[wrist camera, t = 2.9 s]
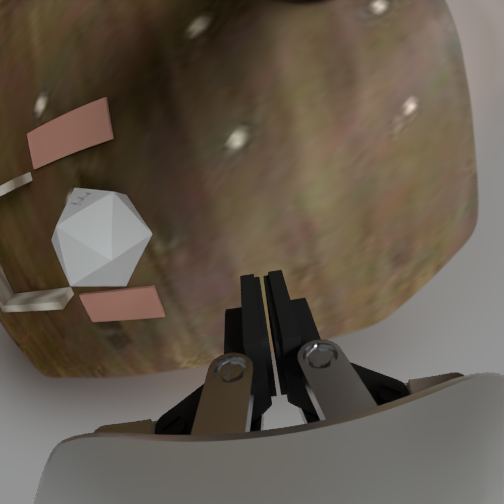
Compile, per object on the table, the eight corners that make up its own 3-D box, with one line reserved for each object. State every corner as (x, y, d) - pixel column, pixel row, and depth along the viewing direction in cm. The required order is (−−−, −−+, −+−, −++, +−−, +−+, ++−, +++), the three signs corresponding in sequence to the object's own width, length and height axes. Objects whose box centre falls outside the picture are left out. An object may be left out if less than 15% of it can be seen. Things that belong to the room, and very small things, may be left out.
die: (176, 207, 25) (108, 169, 15) (155, 299, 24) (77, 302, 15) (113, 198, 27) (47, 168, 17) (95, 277, 26) (22, 270, 17)
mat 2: (154, 284, 27) (153, 286, 27) (165, 314, 29) (165, 316, 29) (80, 293, 28) (78, 295, 27) (93, 320, 29) (92, 322, 29)
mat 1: (106, 97, 19) (105, 97, 18) (114, 138, 21) (112, 139, 20) (29, 133, 19) (26, 133, 19) (36, 169, 21) (33, 169, 20)
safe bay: (30, 171, 21) (13, 179, 18) (74, 294, 28) (63, 309, 25) (-26, 202, 21) (-40, 210, 18) (13, 299, 28) (3, 312, 25)
